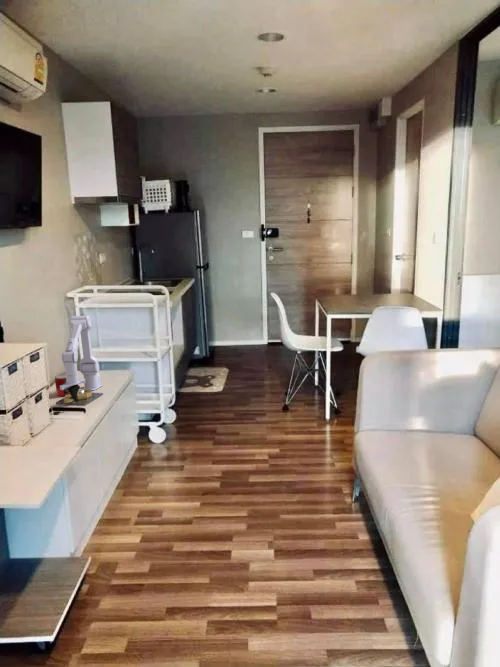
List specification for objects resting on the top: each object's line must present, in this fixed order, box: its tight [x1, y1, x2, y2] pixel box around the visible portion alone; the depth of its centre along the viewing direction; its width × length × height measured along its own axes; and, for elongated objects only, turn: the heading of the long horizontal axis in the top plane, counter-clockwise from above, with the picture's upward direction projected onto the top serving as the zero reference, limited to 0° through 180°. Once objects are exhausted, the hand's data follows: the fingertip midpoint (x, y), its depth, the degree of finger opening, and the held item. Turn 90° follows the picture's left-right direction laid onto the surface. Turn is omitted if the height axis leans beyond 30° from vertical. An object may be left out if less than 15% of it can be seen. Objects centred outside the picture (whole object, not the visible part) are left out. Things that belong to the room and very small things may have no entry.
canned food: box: [54, 373, 70, 398], centre depth 278 cm, size 8×8×11 cm
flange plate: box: [55, 390, 104, 406], centre depth 270 cm, size 18×17×4 cm
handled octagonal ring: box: [63, 388, 93, 403], centre depth 268 cm, size 17×11×2 cm, turn 159°
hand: (74, 399), depth 263 cm, fingers closed
